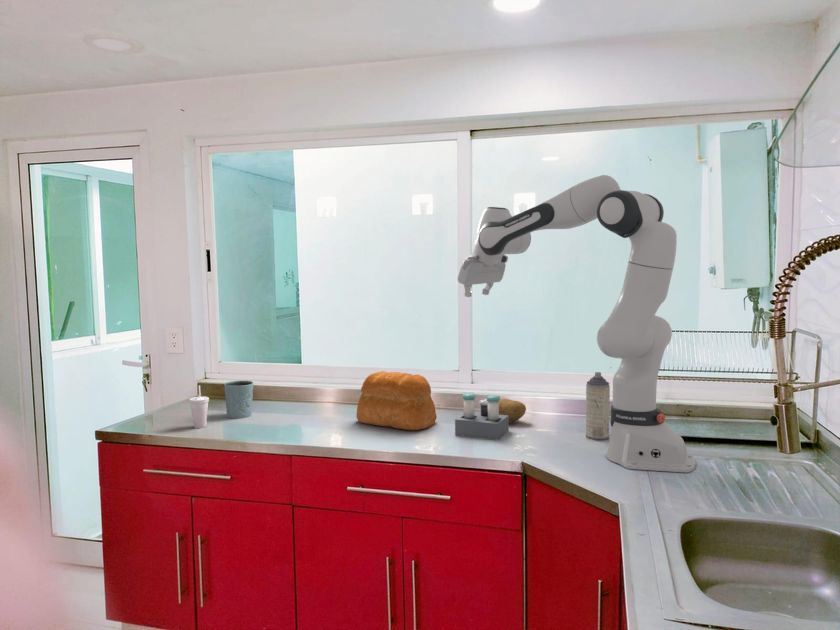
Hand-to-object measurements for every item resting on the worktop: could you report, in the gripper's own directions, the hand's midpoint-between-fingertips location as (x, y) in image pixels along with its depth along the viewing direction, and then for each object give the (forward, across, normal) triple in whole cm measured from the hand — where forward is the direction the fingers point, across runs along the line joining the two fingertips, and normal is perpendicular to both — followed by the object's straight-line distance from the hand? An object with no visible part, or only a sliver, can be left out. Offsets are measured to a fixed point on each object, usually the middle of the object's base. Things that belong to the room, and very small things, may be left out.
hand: (476, 295), depth 198 cm
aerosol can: (+29, +8, -50) cm, 59 cm away
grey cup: (+62, -50, +54) cm, 96 cm away
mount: (+38, -11, -22) cm, 45 cm away
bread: (+47, -20, +6) cm, 51 cm away
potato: (+39, +5, -20) cm, 44 cm away
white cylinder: (+34, -13, -17) cm, 40 cm away
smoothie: (+60, -66, +51) cm, 103 cm away
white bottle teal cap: (+32, -10, -24) cm, 41 cm away
